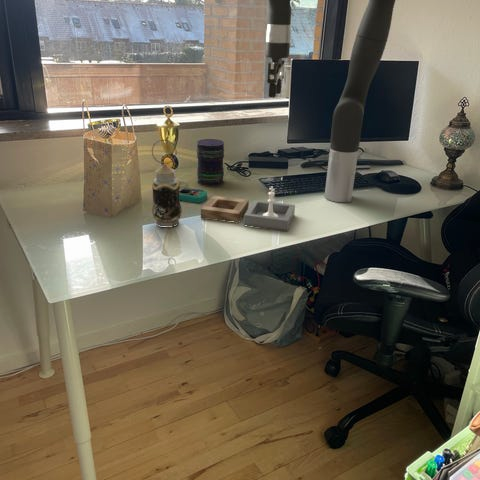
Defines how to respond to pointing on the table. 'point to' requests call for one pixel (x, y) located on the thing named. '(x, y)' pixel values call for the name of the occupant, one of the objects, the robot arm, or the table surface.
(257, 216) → the parts tray
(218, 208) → the socket stand
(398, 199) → the table surface
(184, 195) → the digital multimeter
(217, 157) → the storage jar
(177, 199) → the lantern
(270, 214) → the chess piece
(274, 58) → the robot arm
